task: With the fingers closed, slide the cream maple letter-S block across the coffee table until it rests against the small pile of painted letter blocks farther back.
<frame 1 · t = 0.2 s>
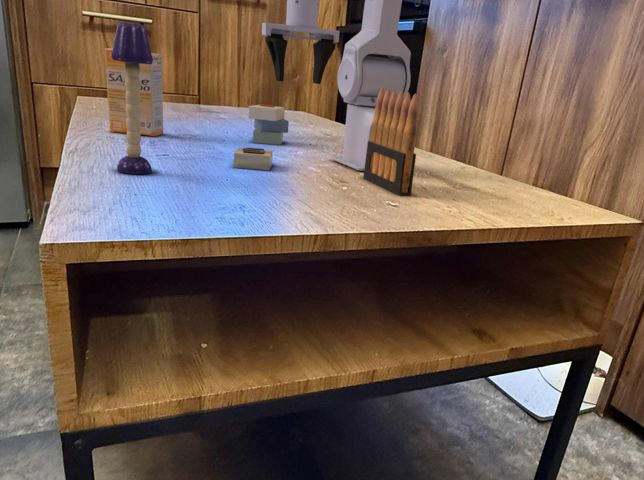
hand: (298, 82, 112), 10 cm above the table, tool pointing down, fingers open, 7 cm apart
ammunition clip: (385, 187, 81), on the table
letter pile: (268, 142, 109), on the table
toy lamp: (137, 173, 76), on the table
supplement box: (137, 134, 105), on the table
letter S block: (253, 166, 86), on the table
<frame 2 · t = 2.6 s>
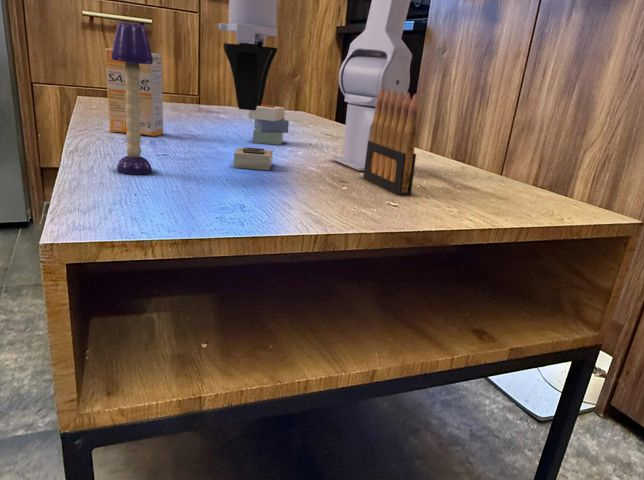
hand: (250, 107, 77), 8 cm above the table, tool pointing down, fingers open, 6 cm apart
nothing on the table moved.
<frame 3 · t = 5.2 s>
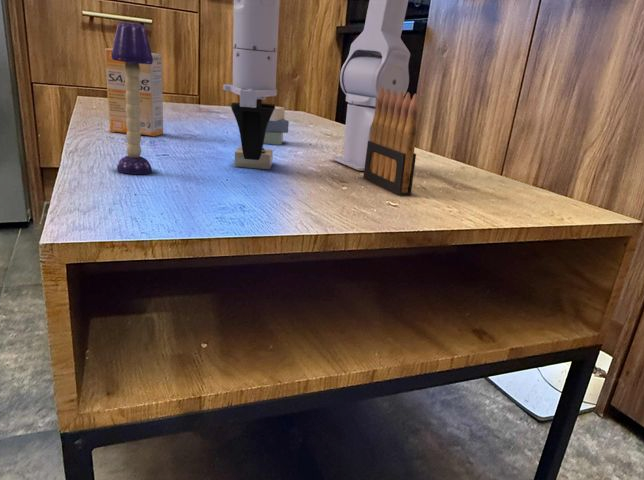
hand: (252, 158, 83), 1 cm above the table, tool pointing down, fingers closed
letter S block: (253, 165, 87), on the table, touching gripper
everything else where it was.
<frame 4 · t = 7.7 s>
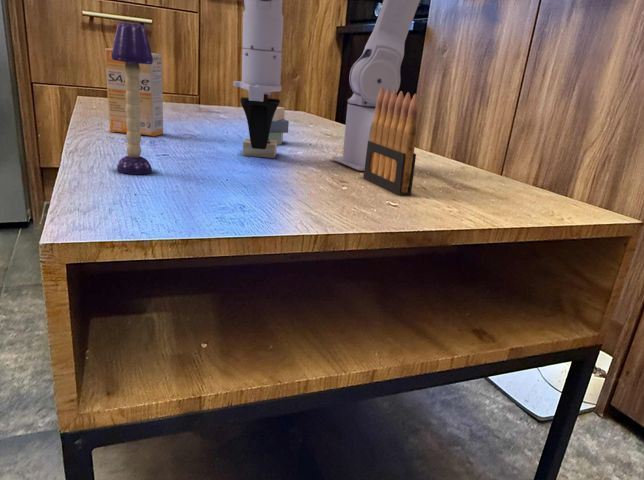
hand: (258, 148, 92), 1 cm above the table, tool pointing down, fingers closed
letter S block: (260, 154, 96), on the table, touching gripper
everything else where it was.
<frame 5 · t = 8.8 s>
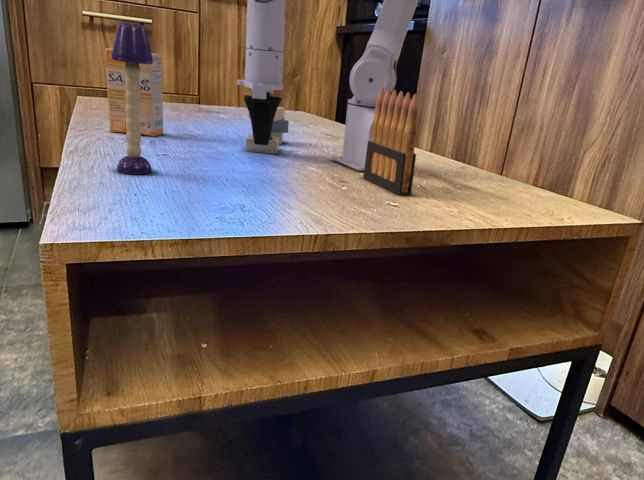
hand: (261, 144, 96), 1 cm above the table, tool pointing down, fingers closed
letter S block: (262, 150, 100), on the table, touching gripper
everything else where it was.
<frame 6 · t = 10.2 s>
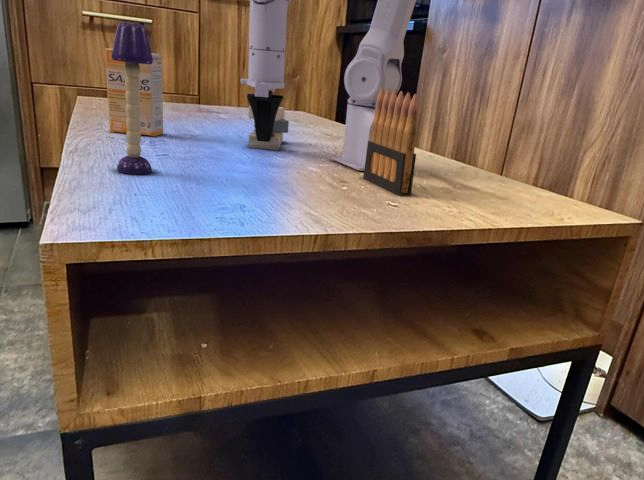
hand: (263, 141, 100), 1 cm above the table, tool pointing down, fingers closed
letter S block: (264, 146, 103), on the table, touching gripper
everything else where it was.
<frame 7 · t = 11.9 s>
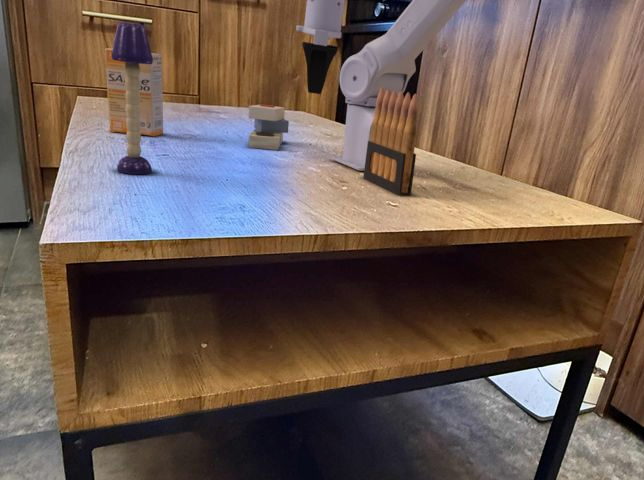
hand: (314, 92, 97), 9 cm above the table, tool pointing down, fingers closed
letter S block: (264, 146, 103), on the table
everything else where it was.
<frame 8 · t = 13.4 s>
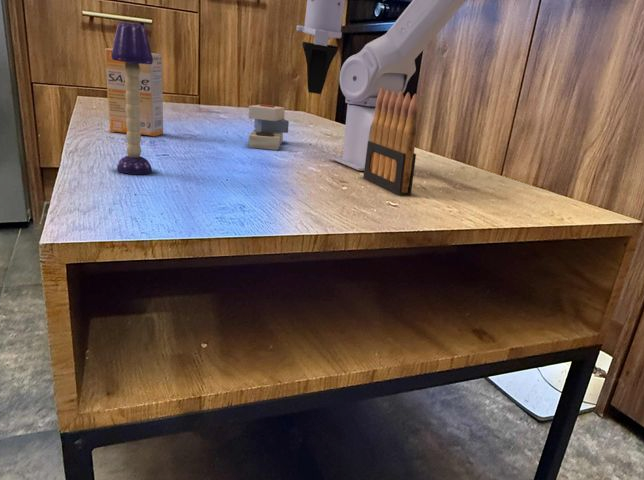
hand: (314, 92, 97), 9 cm above the table, tool pointing down, fingers closed
nothing on the table moved.
at the end: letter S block 6.2 cm from the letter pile (horizontally); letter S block moved 19.2 cm from its start; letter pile moved 0.0 cm from its start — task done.
